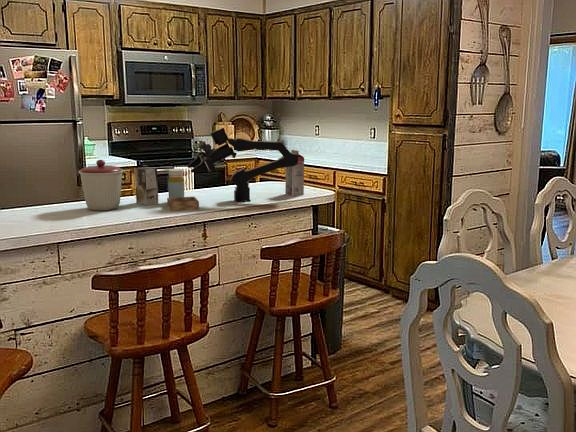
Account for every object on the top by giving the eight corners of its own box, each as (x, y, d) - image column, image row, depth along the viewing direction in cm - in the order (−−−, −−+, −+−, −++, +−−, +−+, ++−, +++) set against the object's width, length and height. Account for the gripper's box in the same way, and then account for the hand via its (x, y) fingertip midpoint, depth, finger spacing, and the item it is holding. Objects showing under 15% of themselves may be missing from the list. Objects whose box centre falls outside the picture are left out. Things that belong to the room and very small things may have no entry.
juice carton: (292, 196, 276) (292, 151, 271) (285, 193, 282) (285, 149, 277) (303, 194, 279) (304, 150, 275) (296, 192, 285) (297, 149, 280)
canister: (94, 214, 229) (91, 163, 225) (73, 208, 241) (69, 159, 237) (133, 208, 242) (131, 159, 238) (111, 203, 254) (108, 156, 250)
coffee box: (159, 203, 253) (157, 168, 250) (146, 205, 249) (145, 169, 245) (147, 201, 259) (146, 166, 256) (135, 202, 255) (133, 167, 251)
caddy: (194, 204, 253) (194, 196, 252) (199, 209, 242) (198, 201, 241) (167, 205, 249) (167, 197, 248) (170, 210, 238) (170, 202, 237)
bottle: (180, 204, 253) (179, 171, 250) (166, 203, 255) (165, 170, 251) (186, 201, 260) (185, 169, 257) (172, 200, 261) (171, 168, 258)
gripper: (208, 134, 262) (178, 149, 259) (217, 141, 245) (184, 157, 243) (218, 155, 267) (188, 170, 264) (227, 164, 250) (196, 179, 247)
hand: (189, 169), depth 254 cm, fingers open, 9 cm apart
